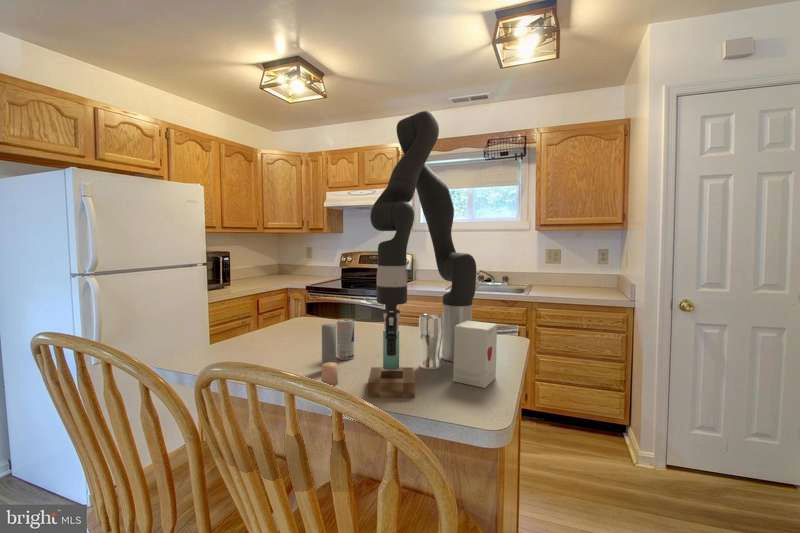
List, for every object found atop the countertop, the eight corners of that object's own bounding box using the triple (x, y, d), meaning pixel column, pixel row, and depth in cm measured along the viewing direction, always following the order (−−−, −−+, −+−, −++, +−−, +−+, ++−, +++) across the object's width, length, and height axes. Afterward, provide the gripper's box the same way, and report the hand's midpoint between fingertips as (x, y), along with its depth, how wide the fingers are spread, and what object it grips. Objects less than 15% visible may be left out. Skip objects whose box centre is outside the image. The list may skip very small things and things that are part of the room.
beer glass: (444, 364, 114) (445, 314, 113) (439, 371, 107) (439, 319, 106) (422, 361, 116) (422, 313, 115) (415, 368, 110) (415, 317, 109)
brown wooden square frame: (413, 380, 100) (413, 367, 100) (414, 397, 89) (414, 382, 89) (371, 380, 100) (371, 367, 100) (368, 397, 89) (367, 382, 89)
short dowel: (338, 381, 100) (338, 362, 99) (336, 386, 96) (336, 367, 95) (323, 381, 100) (323, 362, 99) (320, 386, 96) (320, 367, 95)
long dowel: (337, 368, 110) (337, 323, 109) (335, 373, 106) (334, 326, 105) (323, 368, 110) (323, 323, 109) (320, 373, 106) (320, 326, 105)
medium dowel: (399, 364, 96) (399, 329, 96) (399, 370, 92) (399, 333, 92) (383, 364, 96) (383, 329, 96) (382, 369, 92) (382, 333, 92)
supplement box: (485, 389, 95) (486, 329, 94) (452, 382, 99) (453, 325, 98) (496, 378, 102) (498, 323, 101) (465, 372, 107) (466, 319, 106)
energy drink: (355, 355, 122) (355, 318, 121) (352, 360, 117) (352, 322, 116) (339, 355, 122) (339, 318, 122) (335, 360, 117) (334, 321, 116)
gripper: (407, 287, 86) (407, 361, 87) (406, 281, 100) (406, 345, 101) (374, 287, 86) (374, 361, 87) (378, 280, 100) (378, 344, 101)
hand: (391, 352), depth 94 cm, fingers closed on medium dowel, 4 cm apart
